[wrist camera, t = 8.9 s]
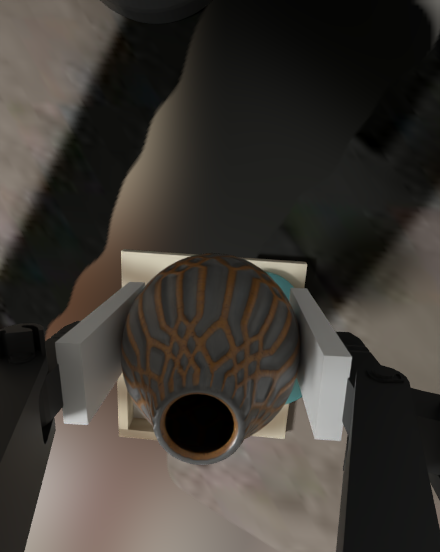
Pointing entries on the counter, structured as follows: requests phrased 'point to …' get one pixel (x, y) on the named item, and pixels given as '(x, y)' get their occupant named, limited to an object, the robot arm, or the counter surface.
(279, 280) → the jig board
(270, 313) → the vase
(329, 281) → the counter surface
